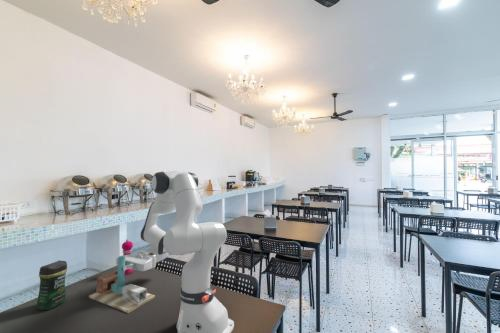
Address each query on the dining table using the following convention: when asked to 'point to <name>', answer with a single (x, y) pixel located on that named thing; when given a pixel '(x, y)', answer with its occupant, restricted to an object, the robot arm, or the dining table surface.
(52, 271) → the coffee jar
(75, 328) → the dining table surface
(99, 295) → the tube fixture
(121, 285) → the tube
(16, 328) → the dining table surface
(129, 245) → the pepper mill
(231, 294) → the dining table surface
